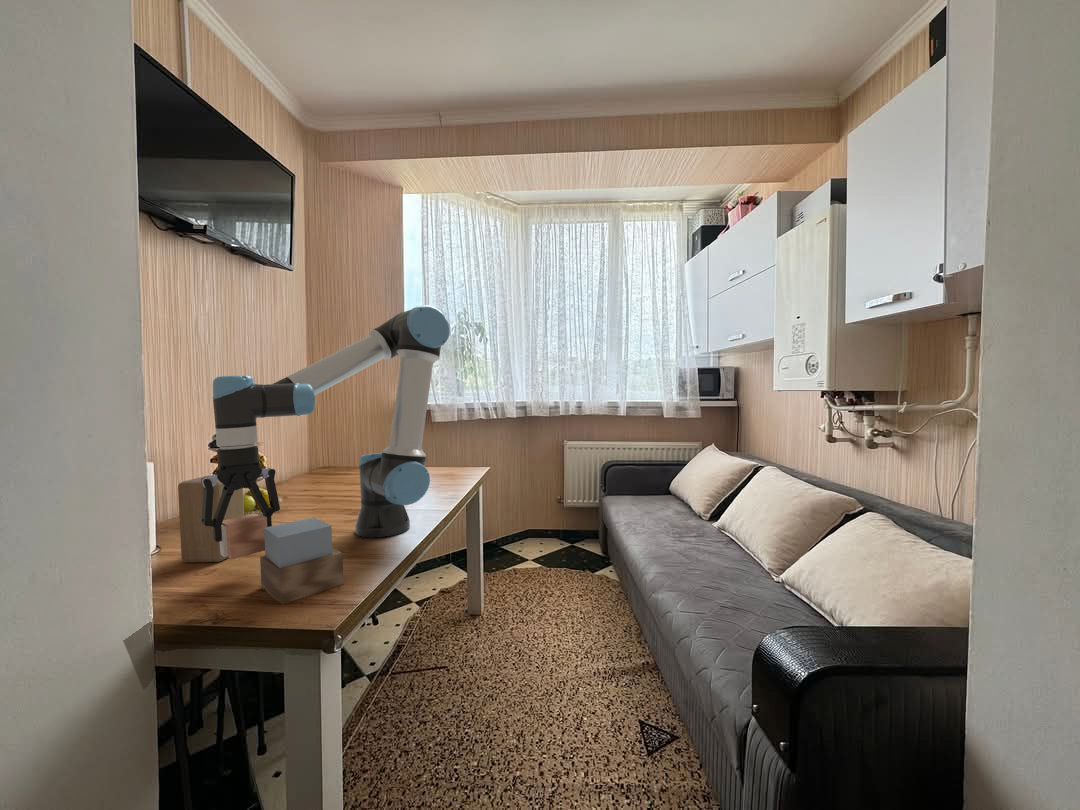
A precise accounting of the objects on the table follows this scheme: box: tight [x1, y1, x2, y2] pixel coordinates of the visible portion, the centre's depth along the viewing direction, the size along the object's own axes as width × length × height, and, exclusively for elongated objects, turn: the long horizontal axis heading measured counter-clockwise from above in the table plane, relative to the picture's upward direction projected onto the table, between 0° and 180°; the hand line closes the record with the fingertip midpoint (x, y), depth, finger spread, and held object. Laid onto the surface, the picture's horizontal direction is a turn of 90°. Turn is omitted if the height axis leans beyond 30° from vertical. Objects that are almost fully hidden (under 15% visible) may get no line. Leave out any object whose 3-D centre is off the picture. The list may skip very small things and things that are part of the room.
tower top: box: [264, 517, 333, 568], centre depth 95 cm, size 10×10×6 cm
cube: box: [222, 513, 267, 560], centre depth 100 cm, size 7×7×7 cm
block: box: [177, 474, 245, 563], centre depth 115 cm, size 10×10×20 cm
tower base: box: [259, 547, 345, 605], centre depth 96 cm, size 12×12×7 cm
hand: (245, 549), depth 100 cm, fingers closed on cube, 7 cm apart
